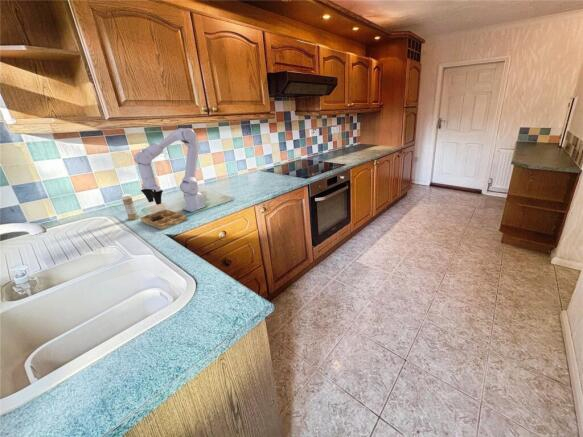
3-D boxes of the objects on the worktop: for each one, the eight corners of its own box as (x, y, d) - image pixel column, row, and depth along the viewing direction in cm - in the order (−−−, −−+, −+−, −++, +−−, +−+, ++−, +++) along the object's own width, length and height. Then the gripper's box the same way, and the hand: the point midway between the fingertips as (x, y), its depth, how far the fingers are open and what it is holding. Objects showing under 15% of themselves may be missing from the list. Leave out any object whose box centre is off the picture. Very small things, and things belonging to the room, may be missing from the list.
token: (159, 219, 135) (157, 213, 133) (164, 221, 132) (162, 214, 131) (151, 222, 131) (149, 216, 130) (155, 224, 129) (153, 217, 127)
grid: (166, 213, 145) (165, 208, 144) (187, 220, 134) (186, 215, 133) (141, 221, 135) (140, 217, 134) (161, 230, 124) (160, 225, 123)
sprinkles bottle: (131, 217, 142) (123, 193, 137) (139, 216, 142) (132, 193, 137) (127, 220, 138) (119, 196, 132) (135, 219, 138) (128, 195, 133)
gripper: (132, 177, 129) (140, 203, 134) (147, 180, 121) (154, 207, 126) (146, 174, 134) (153, 199, 139) (161, 177, 126) (168, 203, 131)
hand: (155, 203), depth 133 cm, fingers open, 7 cm apart
